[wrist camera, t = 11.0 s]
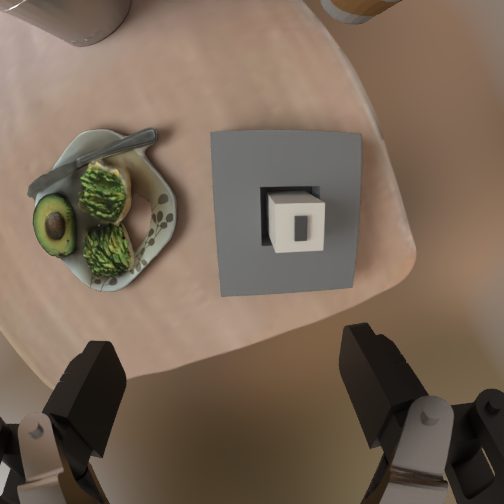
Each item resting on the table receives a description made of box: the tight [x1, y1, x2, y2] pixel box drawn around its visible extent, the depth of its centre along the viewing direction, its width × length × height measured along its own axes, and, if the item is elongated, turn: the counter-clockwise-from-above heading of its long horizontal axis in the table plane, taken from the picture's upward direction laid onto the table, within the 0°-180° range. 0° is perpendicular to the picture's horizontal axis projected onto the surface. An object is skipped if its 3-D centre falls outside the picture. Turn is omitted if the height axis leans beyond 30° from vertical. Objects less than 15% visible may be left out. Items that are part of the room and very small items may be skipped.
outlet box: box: [210, 130, 362, 297], centre depth 28 cm, size 16×14×4 cm
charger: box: [266, 191, 325, 253], centre depth 25 cm, size 4×4×7 cm
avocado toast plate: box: [27, 128, 177, 292], centre depth 26 cm, size 19×18×5 cm
